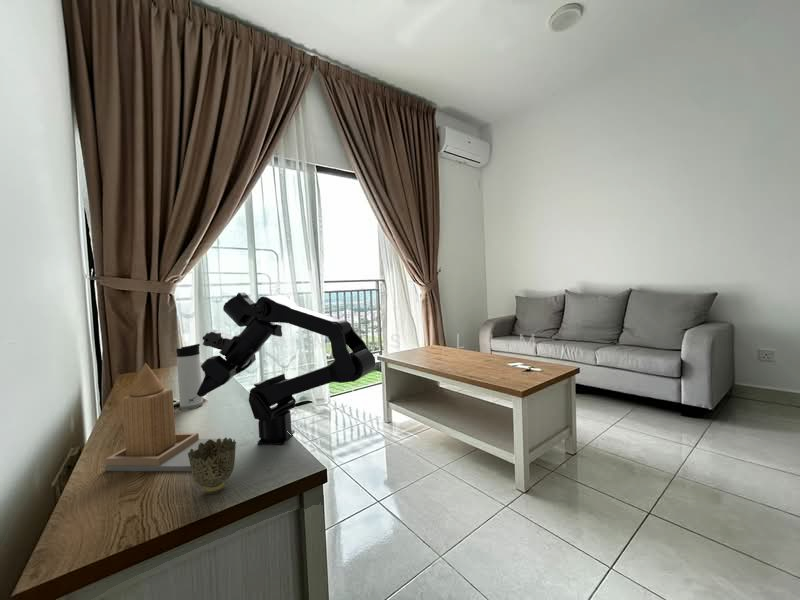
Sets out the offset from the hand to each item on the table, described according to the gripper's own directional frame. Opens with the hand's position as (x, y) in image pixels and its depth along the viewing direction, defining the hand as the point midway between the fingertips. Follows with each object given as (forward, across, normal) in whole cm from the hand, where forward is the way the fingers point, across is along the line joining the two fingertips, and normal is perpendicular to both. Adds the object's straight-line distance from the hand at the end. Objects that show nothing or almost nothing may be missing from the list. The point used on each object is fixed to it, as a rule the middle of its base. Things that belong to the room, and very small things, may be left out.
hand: (208, 389), depth 78 cm
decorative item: (+16, +4, 0) cm, 17 cm away
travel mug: (+22, -29, -4) cm, 36 cm away
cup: (+3, +21, +16) cm, 26 cm away
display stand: (+13, +5, +5) cm, 15 cm away
